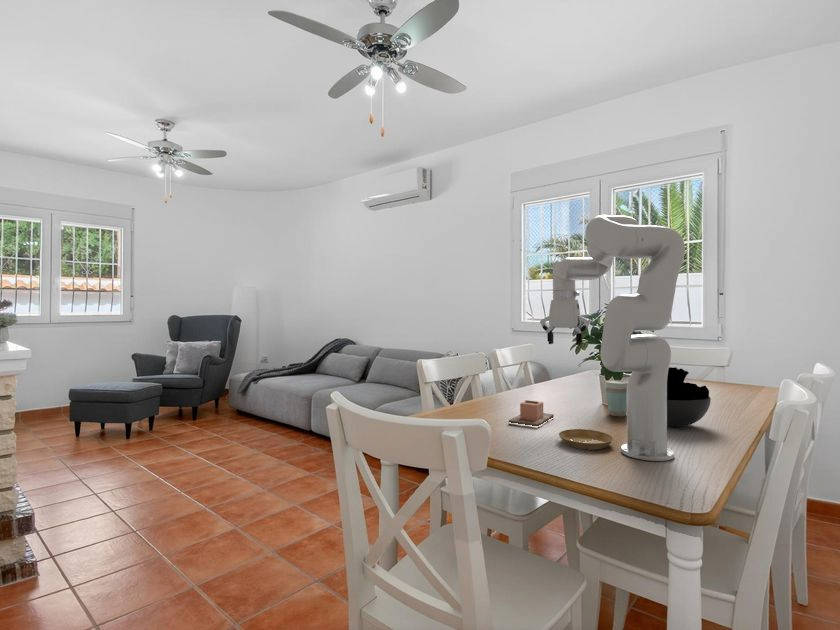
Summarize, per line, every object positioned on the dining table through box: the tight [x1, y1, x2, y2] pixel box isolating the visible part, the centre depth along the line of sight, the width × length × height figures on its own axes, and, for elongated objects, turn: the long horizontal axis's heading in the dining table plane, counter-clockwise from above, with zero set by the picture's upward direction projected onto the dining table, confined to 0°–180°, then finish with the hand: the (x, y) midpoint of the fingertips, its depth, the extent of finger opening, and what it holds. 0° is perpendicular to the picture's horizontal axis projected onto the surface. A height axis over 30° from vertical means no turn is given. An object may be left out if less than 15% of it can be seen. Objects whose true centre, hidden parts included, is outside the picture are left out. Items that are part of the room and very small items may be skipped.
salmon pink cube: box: [519, 399, 544, 420], centre depth 157 cm, size 6×6×6 cm
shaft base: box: [508, 412, 555, 426], centre depth 157 cm, size 16×10×5 cm, turn 145°
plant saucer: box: [558, 428, 615, 450], centre depth 130 cm, size 15×15×3 cm
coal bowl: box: [667, 366, 712, 427], centre depth 149 cm, size 20×20×19 cm
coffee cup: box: [604, 379, 628, 417], centre depth 165 cm, size 8×9×12 cm
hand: (564, 344), depth 160 cm, fingers open, 9 cm apart
